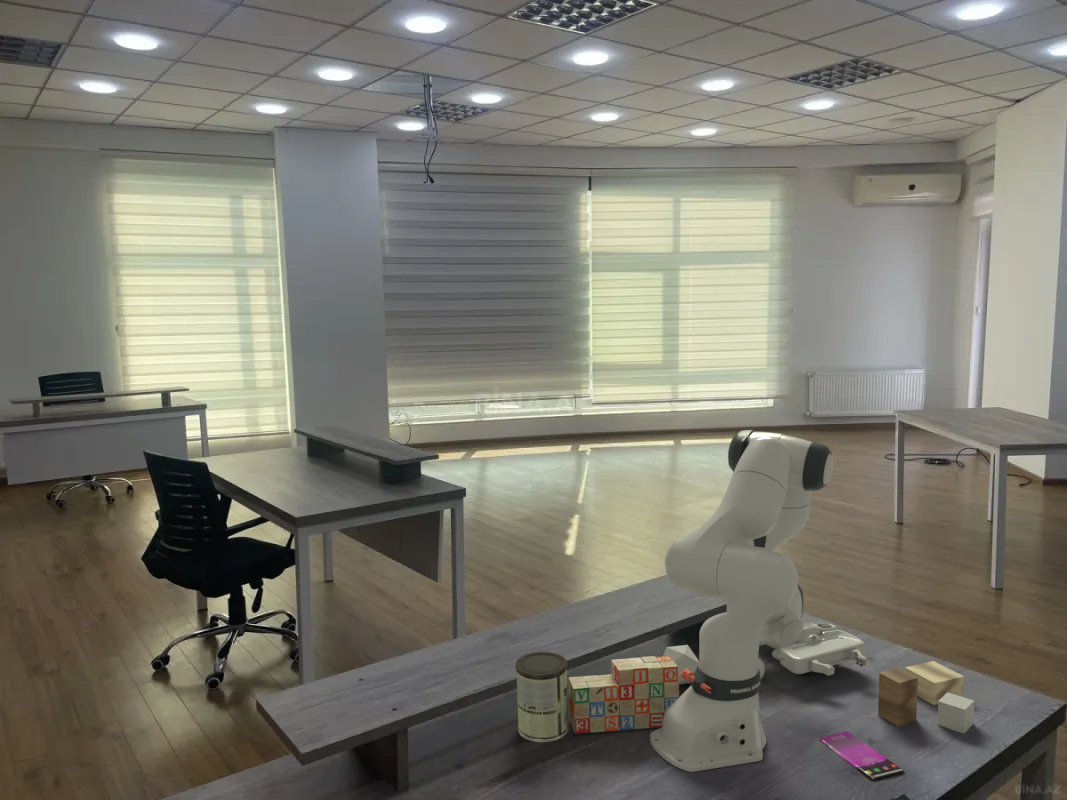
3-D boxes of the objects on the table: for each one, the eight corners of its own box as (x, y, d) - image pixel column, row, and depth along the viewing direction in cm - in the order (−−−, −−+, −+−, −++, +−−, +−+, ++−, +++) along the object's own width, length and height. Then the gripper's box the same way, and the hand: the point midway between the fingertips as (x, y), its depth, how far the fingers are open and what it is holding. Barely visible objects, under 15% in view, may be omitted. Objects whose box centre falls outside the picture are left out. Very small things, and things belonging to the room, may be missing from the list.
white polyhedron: (694, 696, 178) (711, 654, 181) (659, 678, 178) (676, 636, 181) (681, 692, 186) (697, 652, 189) (648, 675, 186) (664, 635, 188)
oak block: (933, 706, 170) (934, 683, 170) (904, 689, 178) (905, 667, 177) (963, 698, 173) (964, 676, 173) (932, 682, 181) (933, 661, 180)
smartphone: (872, 783, 145) (872, 778, 144) (817, 740, 159) (817, 736, 159) (905, 775, 147) (905, 770, 147) (848, 733, 161) (848, 729, 161)
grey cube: (964, 734, 159) (965, 709, 159) (937, 724, 163) (938, 701, 162) (973, 724, 163) (974, 700, 162) (946, 715, 166) (947, 692, 166)
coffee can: (514, 719, 169) (512, 653, 167) (563, 714, 170) (561, 649, 169) (521, 745, 159) (519, 676, 157) (573, 740, 160) (572, 671, 159)
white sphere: (768, 685, 181) (769, 661, 180) (743, 687, 180) (743, 662, 180) (757, 670, 188) (757, 646, 188) (733, 671, 188) (733, 647, 187)
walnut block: (898, 726, 163) (899, 683, 161) (878, 714, 167) (879, 672, 166) (916, 720, 165) (917, 677, 164) (896, 709, 169) (897, 667, 168)
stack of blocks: (574, 735, 161) (572, 673, 161) (569, 721, 168) (567, 662, 167) (680, 726, 164) (678, 665, 163) (671, 713, 170) (669, 654, 169)
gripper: (767, 638, 185) (811, 663, 173) (836, 622, 193) (883, 644, 181) (767, 665, 186) (811, 691, 173) (836, 647, 194) (882, 671, 182)
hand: (848, 667), depth 177 cm, fingers open, 8 cm apart
